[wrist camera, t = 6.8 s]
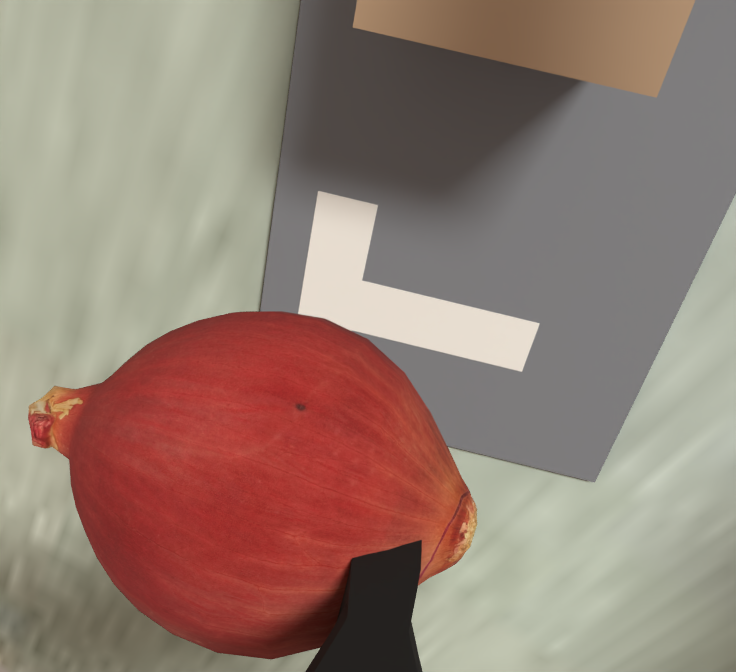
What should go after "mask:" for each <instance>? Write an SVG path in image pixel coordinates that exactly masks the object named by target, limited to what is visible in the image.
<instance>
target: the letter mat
mask: <svg viewBox="0 0 736 672" xmlns="http://www.w3.org/2000/svg"><path fill="white" fill-rule="evenodd" d="M356 4H357V0H301V4H300V11H299V19H298V27H297V34H296V42H295V50H294V57H293V65H292V73H291V80H290V88H289V95H288V103H287V111H286V118H285V126H284V134H283V141H282V149H281V156H280V164H279V172H278V179H277V187H276V195H275V202H274V210H273V217H272V225H271V233H270V240H269V248H268V256H267V263H266V271H265V279H264V286H263V294H262V301H261V309H260V312H261V311H283V312H289V313H295V314H301V315H307V316H313V317H319V318H325V319H327V320H329V321H331V322H333V323H336V324H338V325H340V326H342V327H344V328H346V329H348V330H350V331H352V332H354V333H356V334H359V335H361V336H363V337H365V338H367V339H369V340H370V341H371V342H372V343H373V344H374V345H375V346H376V347H377V348H378V349H379V350H381V351H382V352H383V353H384V354H385V355H386V356H387V357H388V358H389V359H390V360H392V361H393V362H394V363H395V364H396V365H397V366H398V367H399V368H400V369H401V370H402V371H404V372H405V374H406V376H407V377H408V379H409V380H410V382H411V383H412V385H413V386H414V388H415V389H416V391H417V392H418V394H419V395H420V397H421V398H422V400H423V402H424V403H425V405H426V406H427V408H428V409H429V411H430V412H431V414H432V416H433V418H434V420H435V422H436V424H437V426H438V429H439V431H440V433H441V435H442V437H443V439H444V441H445V443H446V445H447V446H450V447H454V448H458V449H462V450H466V451H470V452H474V453H478V454H482V455H486V456H490V457H494V458H498V459H502V460H506V461H510V462H514V463H518V464H522V465H527V466H531V467H535V468H539V469H543V470H547V471H551V472H555V473H559V474H563V475H567V476H571V477H575V478H579V479H583V480H587V481H591V482H595V481H596V479H597V477H598V475H599V473H600V471H601V469H602V467H603V464H604V462H605V460H606V458H607V456H608V454H609V452H610V450H611V448H612V446H613V444H614V442H615V440H616V438H617V436H618V434H619V432H620V430H621V428H622V425H623V423H624V421H625V419H626V417H627V415H628V413H629V411H630V409H631V407H632V405H633V403H634V401H635V399H636V397H637V395H638V393H639V391H640V389H641V387H642V384H643V382H644V380H645V378H646V376H647V374H648V372H649V370H650V368H651V366H652V364H653V362H654V360H655V358H656V356H657V354H658V352H659V350H660V348H661V346H662V343H663V341H664V339H665V337H666V335H667V333H668V331H669V329H670V327H671V325H672V323H673V321H674V319H675V317H676V315H677V313H678V311H679V309H680V307H681V305H682V302H683V300H684V298H685V296H686V294H687V292H688V290H689V288H690V286H691V284H692V282H693V280H694V278H695V276H696V274H697V272H698V270H699V268H700V266H701V264H702V261H703V259H704V257H705V255H706V253H707V251H708V249H709V247H710V245H711V243H712V241H713V239H714V237H715V235H716V233H717V231H718V229H719V227H720V225H721V223H722V220H723V218H724V216H725V214H726V212H727V210H728V208H729V206H730V204H731V202H732V200H733V198H734V196H735V194H736V0H695V3H694V5H693V8H692V10H691V13H690V15H689V18H688V20H687V23H686V25H685V28H684V30H683V33H682V35H681V38H680V40H679V43H678V45H677V48H676V50H675V53H674V55H673V58H672V60H671V63H670V66H669V68H668V71H667V73H666V76H665V78H664V81H663V83H662V86H661V88H660V91H659V93H658V96H657V98H656V97H651V96H647V95H643V94H639V93H634V92H630V91H626V90H621V89H617V88H613V87H608V86H604V85H600V84H595V83H591V82H587V81H582V80H578V79H574V78H569V77H565V76H561V75H556V74H552V73H548V72H543V71H539V70H535V69H530V68H526V67H522V66H518V65H513V64H509V63H505V62H500V61H496V60H492V59H487V58H483V57H479V56H474V55H470V54H466V53H461V52H457V51H453V50H448V49H444V48H440V47H435V46H431V45H427V44H422V43H418V42H414V41H409V40H405V39H401V38H397V37H392V36H388V35H384V34H379V33H375V32H371V31H366V30H362V29H358V28H353V22H354V16H355V10H356Z"/></svg>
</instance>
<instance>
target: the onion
mask: <svg viewBox="0 0 736 672" xmlns="http://www.w3.org/2000/svg"><path fill="white" fill-rule="evenodd" d="M28 420H29V424H30V428H31V435H32V443H33V445H34V446H38V447H42V448H49V447H53V448H55V449H56V450H57V451H59V452H60V453H61V454H63V455H64V456H65V457H67V458H68V459H69V462H70V476H71V487H72V491H73V496H74V500H75V505H76V509H77V511H78V514H79V517H80V519H81V522H82V525H83V527H84V530H85V532H86V535H87V537H88V539H89V541H90V544H91V546H92V548H93V550H94V552H95V555H96V557H97V559H98V560H99V562H100V563H101V565H102V566H103V568H104V570H105V571H106V573H107V574H108V576H109V577H110V579H111V580H112V582H113V583H114V585H115V586H116V587H117V588H118V589H119V590H120V591H121V592H122V593H123V594H124V595H125V597H126V598H127V599H128V600H129V601H130V602H131V603H132V604H133V605H134V606H135V607H136V608H137V609H138V610H139V611H140V612H142V613H143V614H144V615H146V616H147V617H149V618H150V619H152V620H153V621H154V622H156V623H157V624H159V625H160V626H162V627H163V628H165V629H166V630H167V631H169V632H170V633H172V634H174V635H176V636H179V637H181V638H183V639H186V640H188V641H191V642H193V643H195V644H198V645H200V646H202V647H205V648H207V649H210V650H212V651H214V652H217V653H224V654H232V655H241V656H249V657H257V658H265V659H275V658H279V657H283V656H287V655H292V654H296V653H300V652H304V651H308V650H312V649H316V648H321V646H322V645H323V643H324V642H325V640H326V639H327V637H328V635H329V634H330V632H331V630H332V629H333V627H334V625H335V623H336V622H337V619H338V615H339V611H340V607H341V603H342V599H343V595H344V591H345V587H346V583H347V579H348V574H349V569H350V565H351V560H352V558H354V557H358V556H362V555H366V554H370V553H375V552H380V551H385V550H389V549H392V548H395V547H398V546H401V545H404V544H408V543H412V542H415V541H419V540H422V555H421V572H420V577H419V582H418V585H420V584H421V583H422V582H424V581H425V580H427V579H428V578H430V577H432V576H434V575H436V574H438V573H440V572H442V571H444V570H446V569H448V568H449V567H451V566H453V565H455V564H456V563H457V562H458V561H459V560H460V559H461V558H462V556H463V555H464V553H465V552H466V551H467V550H468V549H469V548H470V546H471V542H472V539H473V536H474V532H475V529H476V526H477V508H476V505H475V503H474V501H473V499H472V497H471V494H470V491H469V489H468V487H467V486H466V484H465V482H464V481H463V479H462V477H461V475H460V473H459V471H458V469H457V466H456V464H455V462H454V460H453V458H452V456H451V453H450V451H449V449H448V447H447V445H446V443H445V441H444V439H443V437H442V435H441V433H440V431H439V429H438V426H437V424H436V422H435V420H434V418H433V416H432V414H431V412H430V411H429V409H428V408H427V406H426V405H425V403H424V402H423V400H422V398H421V397H420V395H419V394H418V392H417V391H416V389H415V388H414V386H413V385H412V383H411V382H410V380H409V379H408V377H407V376H406V374H405V372H404V371H402V370H401V369H400V368H399V367H398V366H397V365H396V364H395V363H394V362H393V361H392V360H390V359H389V358H388V357H387V356H386V355H385V354H384V353H383V352H382V351H381V350H379V349H378V348H377V347H376V346H375V345H374V344H373V343H372V342H371V341H370V340H369V339H367V338H365V337H363V336H361V335H359V334H356V333H354V332H352V331H350V330H348V329H346V328H344V327H342V326H340V325H338V324H336V323H333V322H331V321H329V320H327V319H325V318H319V317H313V316H307V315H301V314H295V313H289V312H283V311H261V312H236V313H229V314H225V315H220V316H216V317H211V318H207V319H203V320H198V321H196V322H193V323H191V324H188V325H185V326H183V327H180V328H178V329H175V330H172V331H170V332H168V333H167V334H165V335H163V336H161V337H159V338H158V339H156V340H154V341H152V342H151V343H149V344H147V345H146V346H145V347H143V348H142V349H141V350H140V351H138V352H137V353H136V354H135V355H134V356H132V357H131V358H130V359H129V360H127V361H126V362H125V363H124V364H123V365H122V366H121V367H120V368H119V369H118V370H117V371H116V372H115V373H114V374H113V375H112V376H110V377H109V378H108V379H106V380H105V381H104V382H103V383H100V384H96V385H91V386H87V387H83V388H79V389H69V388H63V387H57V386H54V387H53V388H52V389H51V390H50V391H49V392H48V393H47V394H46V395H45V396H44V397H43V398H41V399H39V400H38V401H36V402H34V403H33V404H31V405H29V415H28Z"/></svg>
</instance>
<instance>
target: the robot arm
mask: <svg viewBox="0 0 736 672" xmlns="http://www.w3.org/2000/svg"><path fill="white" fill-rule="evenodd" d="M421 555H422V540H419V541H415V542H412V543H408V544H404V545H401V546H398V547H395V548H392V549H389V550H385V551H380V552H375V553H370V554H366V555H362V556H358V557H354V558H352V560H351V565H350V569H349V574H348V579H347V583H346V587H345V591H344V595H343V599H342V603H341V607H340V611H339V615H338V619H337V622H336V623H335V625H334V627H333V629H332V630H331V632H330V634H329V635H328V637H327V639H326V640H325V642H324V643H323V645H322V646H321V648H320V650H319V651H318V653H317V654H316V656H315V658H314V659H313V661H312V662H311V664H310V665H309V667H308V669H307V670H306V672H422V668H421V664H420V660H419V655H418V651H417V646H416V641H415V637H414V632H413V627H412V623H411V618H412V613H413V608H414V603H415V598H416V593H417V588H418V582H419V577H420V572H421Z"/></svg>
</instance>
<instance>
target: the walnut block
mask: <svg viewBox="0 0 736 672" xmlns="http://www.w3.org/2000/svg"><path fill="white" fill-rule="evenodd" d="M694 3H695V0H357V4H356V10H355V16H354V22H353V28H358V29H362V30H366V31H371V32H375V33H379V34H384V35H388V36H392V37H397V38H401V39H405V40H409V41H414V42H418V43H422V44H427V45H431V46H435V47H440V48H444V49H448V50H453V51H457V52H461V53H466V54H470V55H474V56H479V57H483V58H487V59H492V60H496V61H500V62H505V63H509V64H513V65H518V66H522V67H526V68H530V69H535V70H539V71H543V72H548V73H552V74H556V75H561V76H565V77H569V78H574V79H578V80H582V81H587V82H591V83H595V84H600V85H604V86H608V87H613V88H617V89H621V90H626V91H630V92H634V93H639V94H643V95H647V96H651V97H656V98H657V96H658V93H659V91H660V88H661V86H662V83H663V81H664V78H665V76H666V73H667V71H668V68H669V66H670V63H671V60H672V58H673V55H674V53H675V50H676V48H677V45H678V43H679V40H680V38H681V35H682V33H683V30H684V28H685V25H686V23H687V20H688V18H689V15H690V13H691V10H692V8H693V5H694Z"/></svg>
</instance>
